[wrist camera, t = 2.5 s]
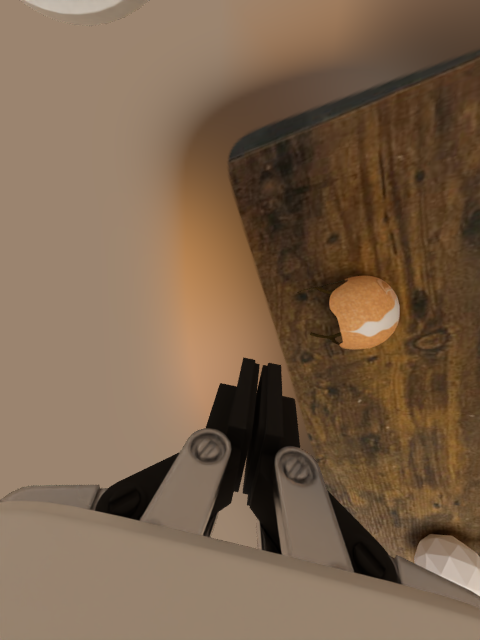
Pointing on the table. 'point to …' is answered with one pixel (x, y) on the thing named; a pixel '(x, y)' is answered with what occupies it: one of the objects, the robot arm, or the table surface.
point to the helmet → (363, 311)
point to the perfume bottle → (450, 560)
